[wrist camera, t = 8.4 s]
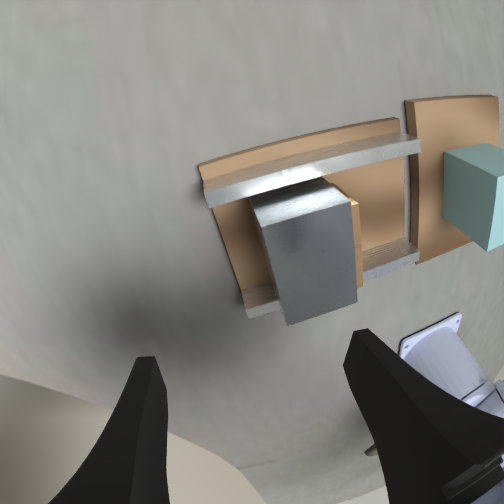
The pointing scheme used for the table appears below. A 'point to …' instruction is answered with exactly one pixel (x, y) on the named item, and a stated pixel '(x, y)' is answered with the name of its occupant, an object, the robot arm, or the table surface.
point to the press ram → (310, 246)
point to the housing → (475, 193)
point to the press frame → (354, 186)
